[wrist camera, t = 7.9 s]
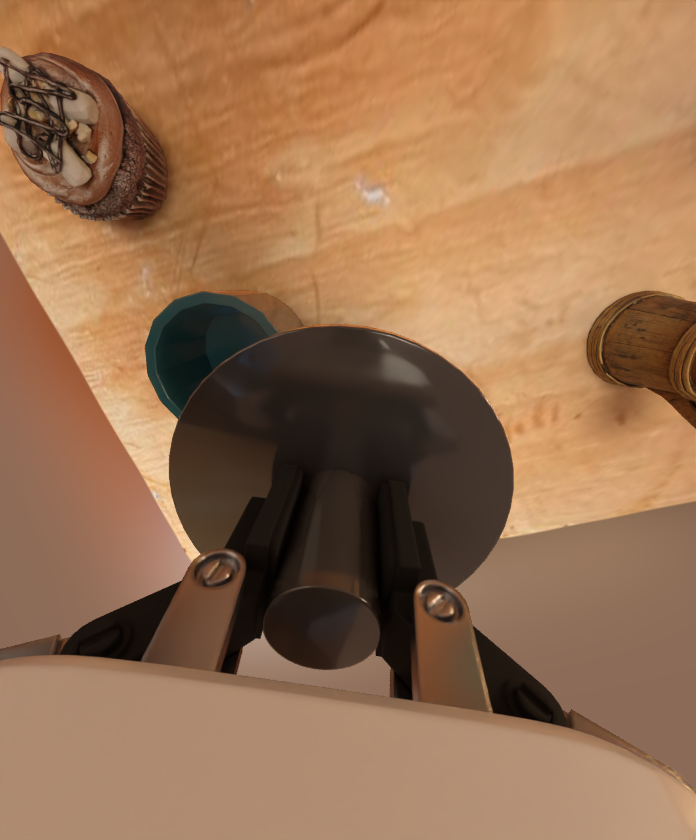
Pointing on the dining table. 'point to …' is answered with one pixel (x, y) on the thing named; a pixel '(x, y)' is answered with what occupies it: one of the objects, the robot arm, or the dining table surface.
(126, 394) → the dining table surface
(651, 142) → the dining table surface
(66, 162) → the cupcake
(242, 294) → the cup
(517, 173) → the dining table surface
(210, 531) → the lid
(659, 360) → the wooden mug
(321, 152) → the dining table surface
